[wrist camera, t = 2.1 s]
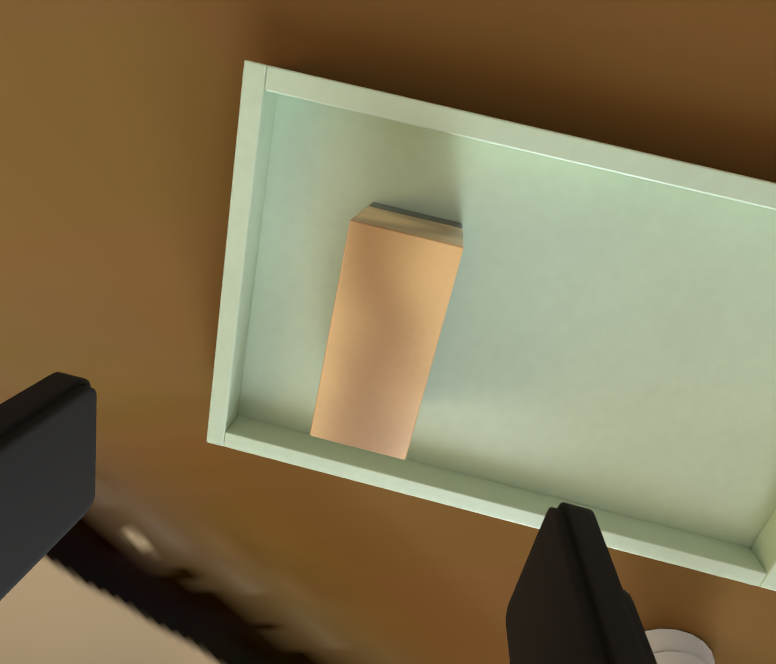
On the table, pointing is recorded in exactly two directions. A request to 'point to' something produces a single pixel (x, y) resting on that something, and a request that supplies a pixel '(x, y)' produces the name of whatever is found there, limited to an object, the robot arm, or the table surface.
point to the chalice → (678, 647)
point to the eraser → (385, 327)
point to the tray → (517, 319)
